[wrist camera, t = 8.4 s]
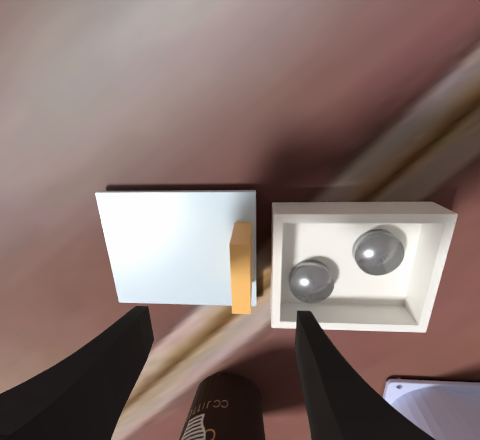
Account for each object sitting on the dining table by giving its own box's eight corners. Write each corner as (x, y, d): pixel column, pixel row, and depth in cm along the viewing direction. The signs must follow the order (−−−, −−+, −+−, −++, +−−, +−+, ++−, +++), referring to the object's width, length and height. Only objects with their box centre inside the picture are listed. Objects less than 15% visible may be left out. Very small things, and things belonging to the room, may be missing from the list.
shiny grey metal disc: (405, 234, 19) (412, 240, 18) (387, 272, 20) (393, 279, 19) (360, 225, 19) (365, 230, 18) (345, 263, 20) (349, 270, 19)
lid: (256, 187, 20) (254, 208, 15) (256, 296, 23) (255, 340, 18) (104, 188, 20) (60, 208, 16) (126, 292, 24) (94, 334, 19)
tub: (432, 201, 19) (458, 214, 16) (407, 308, 22) (425, 332, 19) (272, 202, 19) (273, 214, 17) (270, 305, 23) (271, 327, 20)
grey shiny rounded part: (311, 251, 20) (313, 258, 19) (340, 278, 21) (343, 285, 20) (280, 277, 21) (280, 284, 20) (308, 301, 22) (310, 310, 21)
